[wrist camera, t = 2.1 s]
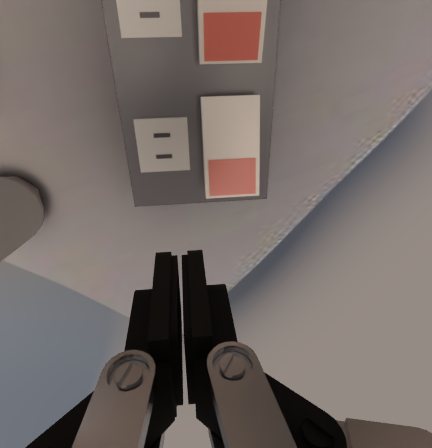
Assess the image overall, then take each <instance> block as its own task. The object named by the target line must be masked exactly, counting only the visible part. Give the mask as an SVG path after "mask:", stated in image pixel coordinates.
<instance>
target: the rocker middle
mask: <svg viewBox="0 0 432 448" xmlns="http://www.w3.org/2000/svg"><path fill="white" fill-rule="evenodd" d="M266 10H267V0H197V17H198V51H199V63H200V64H235V63H262V53H263V42H264V32H265V21H266Z"/></svg>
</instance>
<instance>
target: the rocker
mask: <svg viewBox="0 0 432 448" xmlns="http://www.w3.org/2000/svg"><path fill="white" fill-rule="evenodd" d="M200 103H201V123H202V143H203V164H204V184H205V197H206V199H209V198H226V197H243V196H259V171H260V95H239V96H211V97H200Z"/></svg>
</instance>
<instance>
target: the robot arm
mask: <svg viewBox="0 0 432 448" xmlns="http://www.w3.org/2000/svg"><path fill="white" fill-rule="evenodd" d="M187 252H188V255H182V282H183V320H184V344H185V359H186V374H187V388H188V402H189V404H196V418H197V419H198V420H199V421H201V422H202V423H203V424H204V425H205V426H206V427H208V431H209V437H210V441H211V446H212V448H432V433H430V432H428V431H427V430H424V429H421V428H417V427H411V426H403V425H395V424H388V423H381V422H372V421H365V420H358V419H350V418H346V420H345V422H344V421H337V420H335V419H334V418H333V417H331V416H330V415H329V414H328V413H326V412H325V411H323V410H321V409H320V408H318V407H317V406H315V405H314V404H312V403H311V402H309V401H308V400H306V399H305V398H303V397H302V396H300V395H298V394H297V393H295V392H294V391H292V390H290V389H289V388H288V387H286V386H285V385H283V384H281V383H280V382H278V381H277V380H275V379H274V378H272V377H271V376H269V375H268V374H266V373H264V371H263V369H262V367H261V365H260V362H259V360H258V358H257V356H256V354H255V353H254V351H253V350H252V349H251V348H250V347H248V346H247V345H245V344H243V343H240V342H237V338H236V332H235V328H234V323H233V318H232V313H231V308H230V303H229V298H228V293H227V288H226V285H225V284H219V285H206V277H205V269H204V261H203V253H202V250H194V251H187ZM182 374H183V371H182V320H181V302H180V288H179V274H178V260H177V255H176V256H172V255H171V252H160V253H156V256H155V267H154V277H153V287H152V289H148V290H135V292H134V297H133V303H132V309H131V315H130V321H129V328H128V333H127V339H126V346H125V351H124V352H121V353H119V354H117V355H116V356H114V357H112V358H111V359H110V360H109V361H108V362H107V363H106V365H105V367H104V368H103V370H102V372H101V375H100V377H99V380H98V382H97V385H96V387H95V390H94V391H93V392H92V393H91V394H90V395H88V396H87V397H86V398H85V399H84V400H82V401H81V402H80V403H79V404H78V405H76V406H75V407H74V408H73V409H71V410H70V411H69V412H68V413H67V414H65V415H64V416H63V417H62V418H61V419H59V420H58V421H57V422H56V423H55V424H54V425H52V426H51V427H50V428H49V429H47V430H46V431H45V432H44V433H43V434H41V435H40V436H39V437H38V438H37V439H35V440H34V441H33V442H32V443H30V444H29V445H28V446H27V447H26V448H163V444H164V432H165V430H166V429H167V428H168V427H169V426H170V425H171V424H172V423H173V422H174V420H175V417H176V416H177V411H176V410H177V409H176V407H177V405H183V375H182Z"/></svg>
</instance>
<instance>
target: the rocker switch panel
mask: <svg viewBox="0 0 432 448" xmlns="http://www.w3.org/2000/svg"><path fill="white" fill-rule="evenodd" d="M280 1H281V0H267V10H266V21H265V32H264V42H263V53H262V63H235V64H200V63H199V51H198V17H197V0H101V2H102V8H103V14H104V20H105V26H106V32H107V38H108V44H109V51H110V57H111V63H112V69H113V75H114V81H115V87H116V93H117V100H118V106H119V112H120V118H121V124H122V130H123V136H124V142H125V148H126V155H127V161H128V167H129V173H130V179H131V185H132V191H133V197H134V204H135V207H136V206H153V205H169V204H186V203H203V202H219V201H236V200H253V199H267V185H268V171H269V157H270V143H271V129H272V114H273V100H274V86H275V72H276V58H277V44H278V29H279V15H280ZM239 95H260V171H259V196H243V197H226V198H209V199H206V197H205V184H204V164H203V143H202V123H201V103H200V97H211V96H239Z"/></svg>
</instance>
